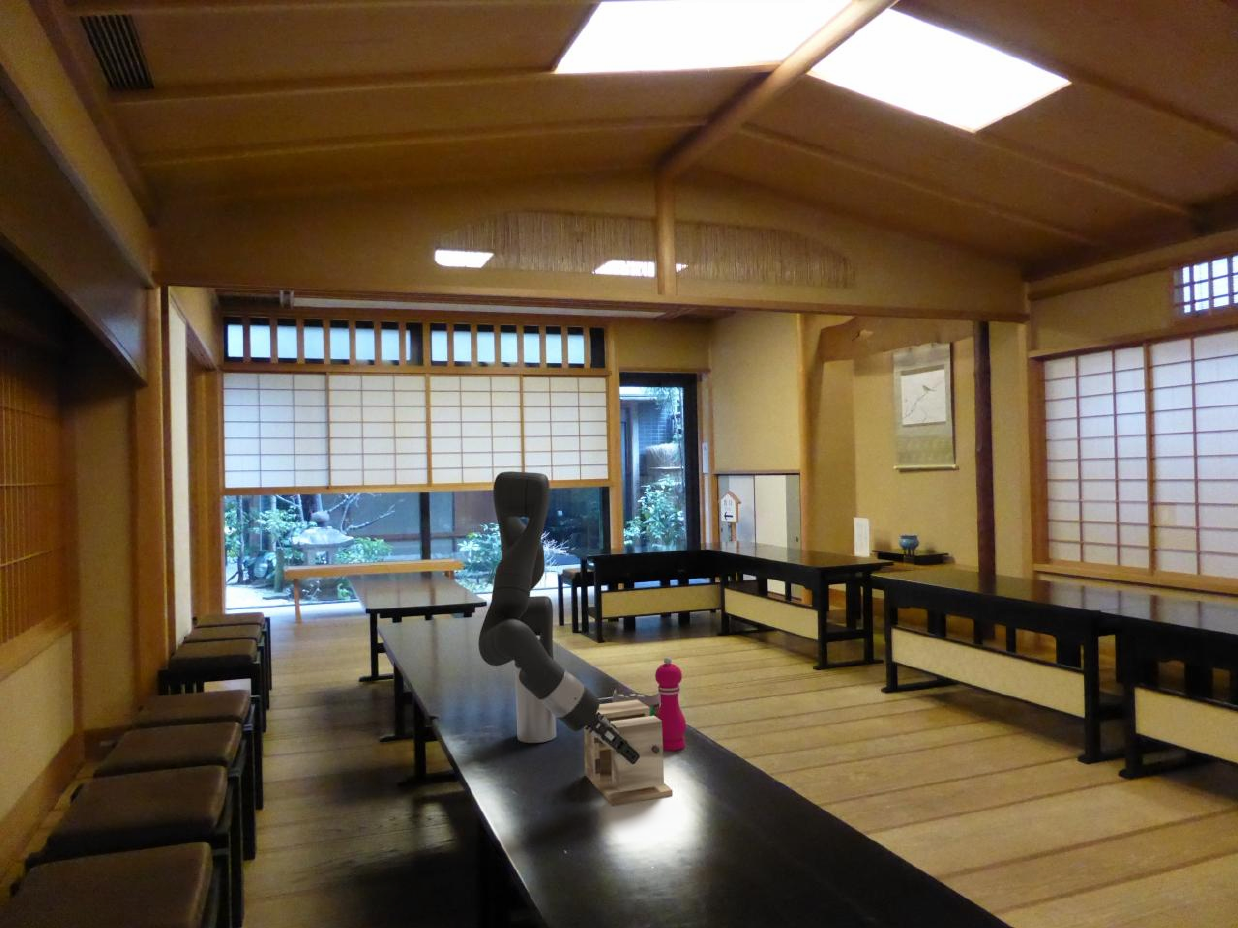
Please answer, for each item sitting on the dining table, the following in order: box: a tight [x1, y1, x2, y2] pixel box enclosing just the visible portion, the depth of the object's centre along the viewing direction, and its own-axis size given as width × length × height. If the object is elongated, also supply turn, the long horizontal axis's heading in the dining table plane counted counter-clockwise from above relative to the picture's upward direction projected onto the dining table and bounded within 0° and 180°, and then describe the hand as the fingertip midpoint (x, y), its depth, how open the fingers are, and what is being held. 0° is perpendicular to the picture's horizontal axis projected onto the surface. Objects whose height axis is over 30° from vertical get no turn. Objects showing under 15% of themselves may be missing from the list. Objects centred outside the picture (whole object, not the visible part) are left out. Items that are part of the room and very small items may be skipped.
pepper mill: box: [654, 656, 687, 752], centre depth 186 cm, size 7×7×20 cm
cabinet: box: [582, 700, 673, 807], centre depth 164 cm, size 18×12×14 cm
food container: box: [612, 689, 661, 717], centre depth 194 cm, size 12×6×10 cm, turn 68°
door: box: [610, 716, 665, 792], centre depth 157 cm, size 5×9×12 cm, turn 110°
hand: (631, 755), depth 157 cm, fingers closed on door, 4 cm apart
